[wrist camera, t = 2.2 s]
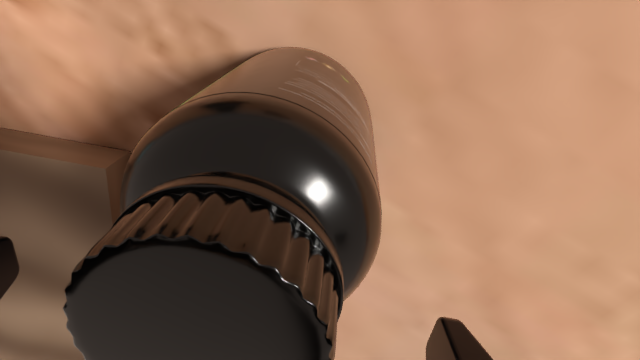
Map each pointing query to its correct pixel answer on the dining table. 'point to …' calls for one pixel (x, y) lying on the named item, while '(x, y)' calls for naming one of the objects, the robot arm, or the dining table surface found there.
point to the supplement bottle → (238, 222)
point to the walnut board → (51, 233)
